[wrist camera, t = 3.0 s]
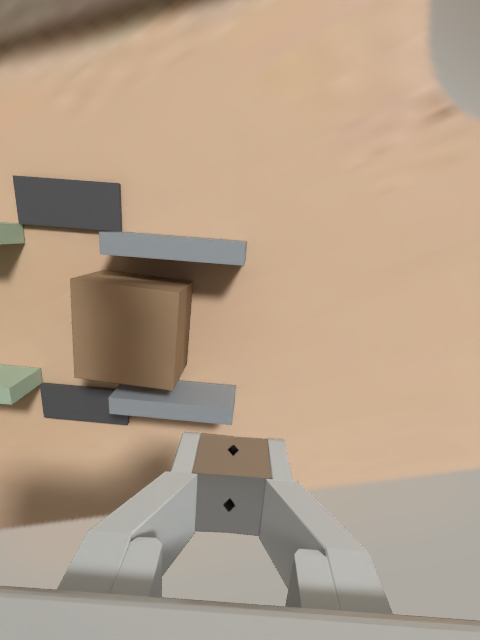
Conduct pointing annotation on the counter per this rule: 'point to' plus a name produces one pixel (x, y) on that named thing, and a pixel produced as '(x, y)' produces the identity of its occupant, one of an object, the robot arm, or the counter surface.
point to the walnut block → (130, 328)
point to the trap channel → (105, 214)
